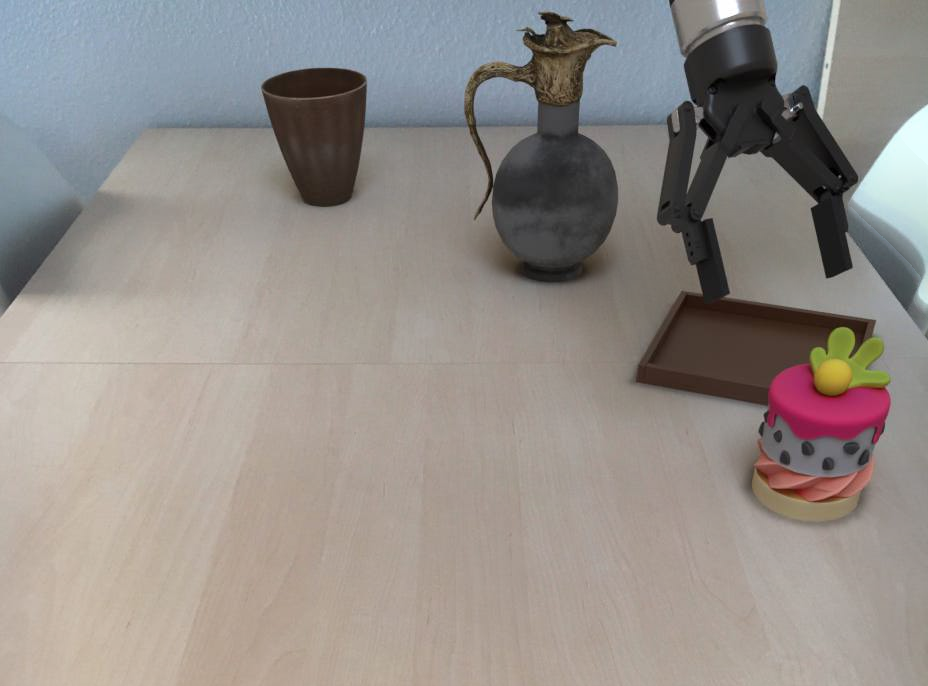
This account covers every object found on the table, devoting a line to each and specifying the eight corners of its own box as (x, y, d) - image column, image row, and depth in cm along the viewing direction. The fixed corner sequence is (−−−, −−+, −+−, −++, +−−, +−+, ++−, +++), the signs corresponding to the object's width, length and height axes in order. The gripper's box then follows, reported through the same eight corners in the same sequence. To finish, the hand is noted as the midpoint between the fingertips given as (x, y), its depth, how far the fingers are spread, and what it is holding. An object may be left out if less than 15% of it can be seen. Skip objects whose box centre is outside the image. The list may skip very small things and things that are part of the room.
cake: (861, 533, 92) (908, 384, 82) (742, 515, 95) (773, 368, 84) (863, 469, 99) (906, 325, 89) (751, 454, 102) (781, 312, 92)
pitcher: (610, 292, 129) (633, 21, 109) (460, 286, 132) (455, 20, 111) (613, 257, 137) (635, -3, 116) (472, 251, 139) (469, -3, 119)
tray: (871, 338, 119) (876, 319, 117) (849, 422, 106) (854, 402, 104) (679, 308, 126) (681, 290, 124) (635, 383, 113) (638, 364, 111)
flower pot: (301, 224, 148) (286, 104, 137) (261, 193, 157) (244, 78, 146) (392, 202, 153) (385, 85, 142) (348, 173, 163) (338, 61, 152)
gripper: (809, 52, 97) (858, 276, 99) (581, 80, 89) (640, 322, 91) (866, 7, 90) (917, 249, 92) (624, 32, 82) (687, 297, 84)
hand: (779, 286), depth 91 cm, fingers open, 13 cm apart
